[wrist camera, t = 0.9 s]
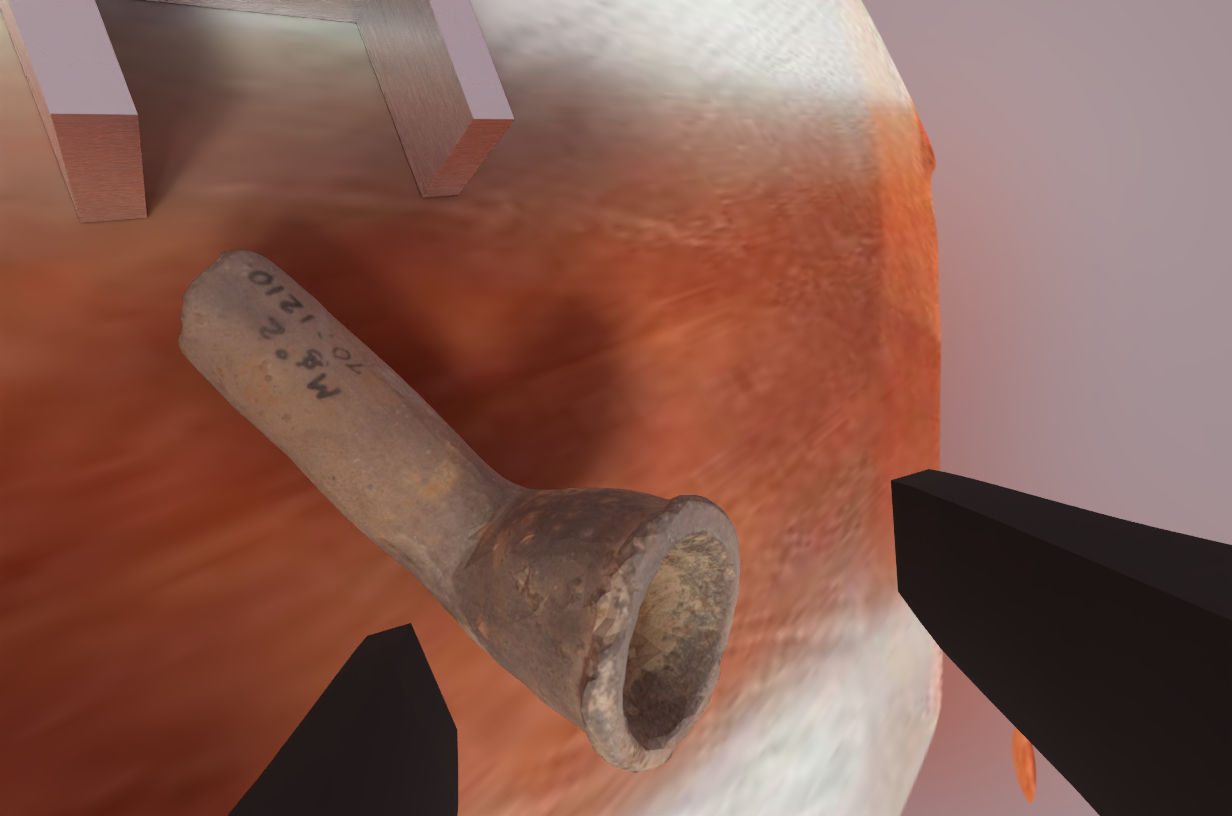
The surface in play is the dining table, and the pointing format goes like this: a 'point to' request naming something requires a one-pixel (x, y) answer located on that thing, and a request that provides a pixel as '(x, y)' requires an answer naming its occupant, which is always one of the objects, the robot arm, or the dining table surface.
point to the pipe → (483, 520)
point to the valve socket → (379, 3)
